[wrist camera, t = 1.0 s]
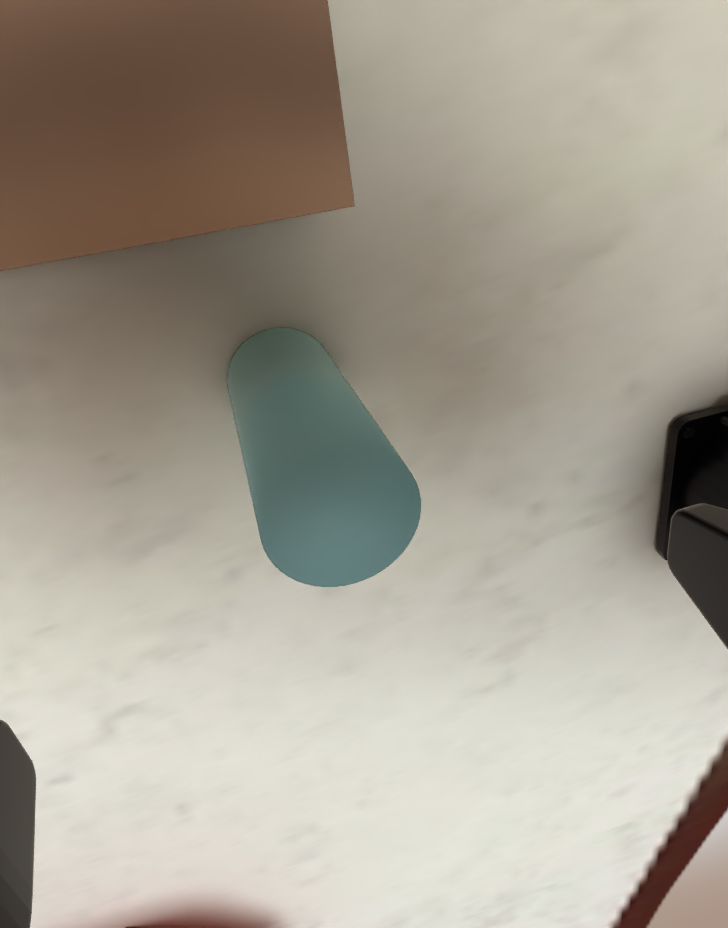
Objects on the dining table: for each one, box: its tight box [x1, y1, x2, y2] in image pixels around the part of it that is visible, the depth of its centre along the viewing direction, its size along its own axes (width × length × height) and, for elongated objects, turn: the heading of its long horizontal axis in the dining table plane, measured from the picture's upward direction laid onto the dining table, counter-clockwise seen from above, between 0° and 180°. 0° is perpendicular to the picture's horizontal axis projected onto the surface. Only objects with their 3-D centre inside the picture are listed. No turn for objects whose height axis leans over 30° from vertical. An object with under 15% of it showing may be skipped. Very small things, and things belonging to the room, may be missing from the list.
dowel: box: [227, 328, 421, 587], centre depth 16 cm, size 3×3×8 cm
